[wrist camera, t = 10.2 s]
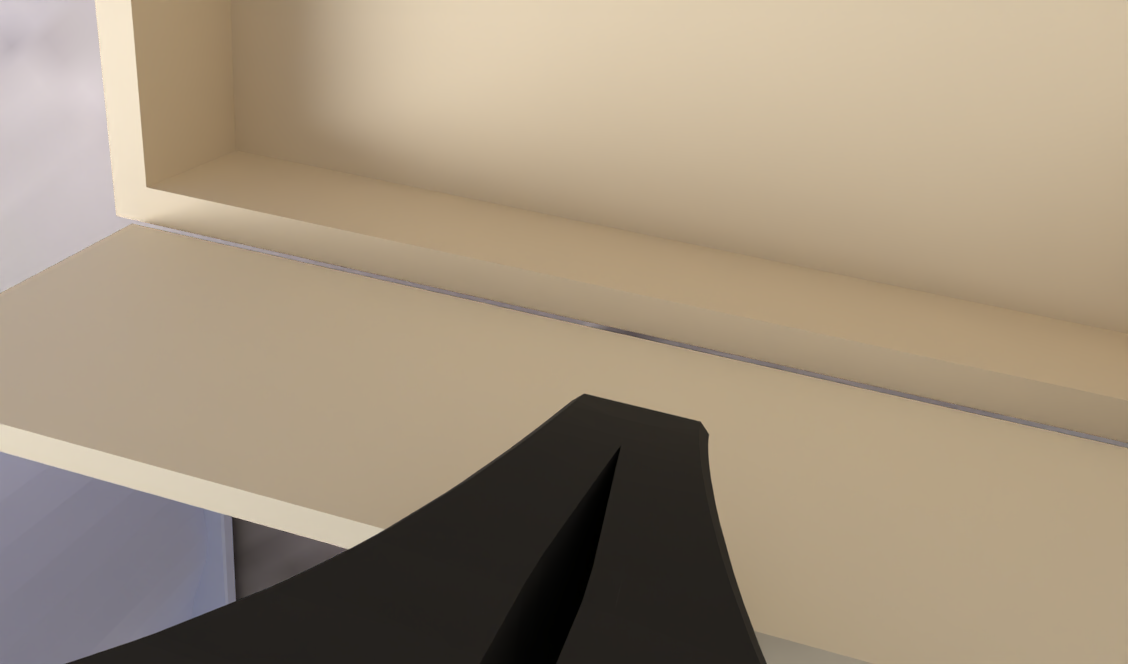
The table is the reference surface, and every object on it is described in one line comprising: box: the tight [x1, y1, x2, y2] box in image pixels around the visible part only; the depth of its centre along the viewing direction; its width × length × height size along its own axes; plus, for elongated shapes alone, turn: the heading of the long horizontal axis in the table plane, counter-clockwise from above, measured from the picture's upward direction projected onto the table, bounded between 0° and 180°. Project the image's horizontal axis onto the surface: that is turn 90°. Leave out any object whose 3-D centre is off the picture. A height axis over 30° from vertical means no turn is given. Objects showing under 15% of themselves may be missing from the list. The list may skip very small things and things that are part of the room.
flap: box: [0, 224, 1128, 664], centre depth 11 cm, size 5×17×1 cm
